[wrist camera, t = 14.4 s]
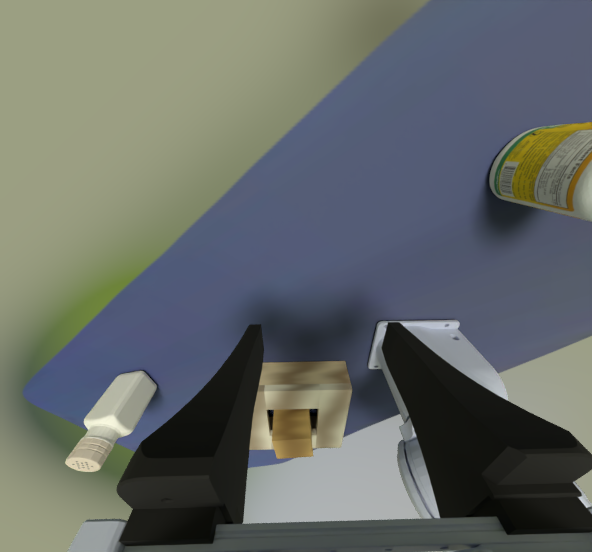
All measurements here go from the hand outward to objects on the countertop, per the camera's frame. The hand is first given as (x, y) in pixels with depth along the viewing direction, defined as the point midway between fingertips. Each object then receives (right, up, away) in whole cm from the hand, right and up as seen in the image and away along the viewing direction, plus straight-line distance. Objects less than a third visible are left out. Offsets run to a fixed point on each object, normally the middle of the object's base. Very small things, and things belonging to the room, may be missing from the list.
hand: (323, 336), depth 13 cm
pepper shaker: (-23, -11, +18) cm, 31 cm away
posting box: (-2, -14, +20) cm, 24 cm away
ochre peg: (-2, -14, +20) cm, 24 cm away
